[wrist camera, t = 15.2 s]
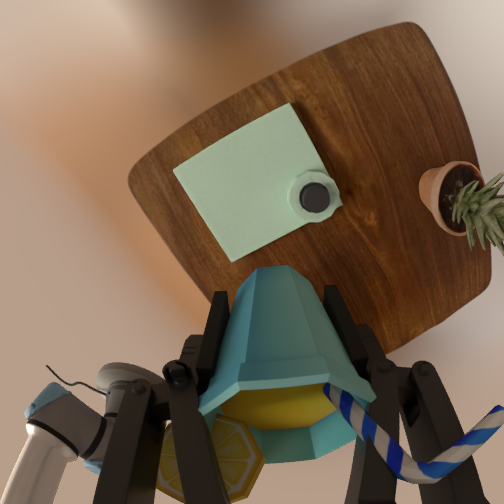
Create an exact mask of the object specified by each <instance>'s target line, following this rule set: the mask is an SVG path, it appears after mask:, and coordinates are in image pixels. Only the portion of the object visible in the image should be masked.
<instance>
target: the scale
mask: <svg viewBox="0 0 504 504" xmlns="http://www.w3.org/2000/svg"><path fill="white" fill-rule="evenodd" d="M173 172H174V173H175V175H176V177H177V178H178V180H179V181H180V183H181V185H182V186H183V188H184V189H185V191H186V193H187V194H188V196H189V197H190V199H191V200H192V202H193V204H194V205H195V207H196V208H197V210H198V211H199V213H200V215H201V216H202V218H203V219H204V221H205V222H206V224H207V225H208V227H209V229H210V230H211V232H212V233H213V235H214V236H215V238H216V239H217V241H218V242H219V244H220V246H221V247H222V249H223V250H224V252H225V253H226V255H227V256H228V258H229V259H230V261H231V262H234V261H235V260H237V259H239V258H241V257H243V256H245V255H247V254H249V253H251V252H253V251H255V250H257V249H259V248H260V247H262V246H264V245H266V244H268V243H270V242H272V241H274V240H276V239H278V238H280V237H282V236H283V235H285V234H287V233H289V232H291V231H293V230H295V229H297V228H299V227H301V226H303V225H305V224H307V223H308V222H321V221H323V220H325V219H327V218H328V217H330V216H331V215H332V214H333V212H334V211H335V209H336V208H337V207H339V206H341V205H343V204H342V202H341V200H340V197H339V190H338V188H337V186H336V184H335V182H334V180H333V179H332V178H330V176H329V174H328V172H327V170H326V168H325V166H324V164H323V162H322V160H321V158H320V157H319V155H318V153H317V151H316V149H315V147H314V145H313V143H312V141H311V140H310V138H309V136H308V134H307V132H306V130H305V129H304V127H303V125H302V123H301V122H300V120H299V118H298V116H297V115H296V113H295V111H294V109H293V108H292V106H291V104H290V103H287V104H285V105H283V106H281V107H279V108H277V109H275V110H273V111H271V112H269V113H267V114H265V115H264V116H262V117H260V118H258V119H256V120H254V121H252V122H250V123H249V124H247V125H245V126H243V127H241V128H240V129H238V130H236V131H234V132H233V133H231V134H229V135H227V136H226V137H224V138H222V139H221V140H219V141H217V142H215V143H214V144H212V145H211V146H209V147H207V148H206V149H204V150H202V151H201V152H199V153H198V154H196V155H195V156H193V157H191V158H190V159H188V160H187V161H185V162H184V163H182V164H181V165H179V166H178V167H176V168H175V169H173ZM312 184H317V185H320V186H321V187H323V188H324V189H325V190H326V191H327V192H328V193H329V196H330V203H329V206H328V207H327V209H326V210H325V211H323V212H321V213H312V212H310V211H309V210H307V208H306V207H305V206H304V204H303V203H302V199H301V195H302V192H303V190H304V189H305V188H306V187H307V186H309V185H312Z"/></svg>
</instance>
